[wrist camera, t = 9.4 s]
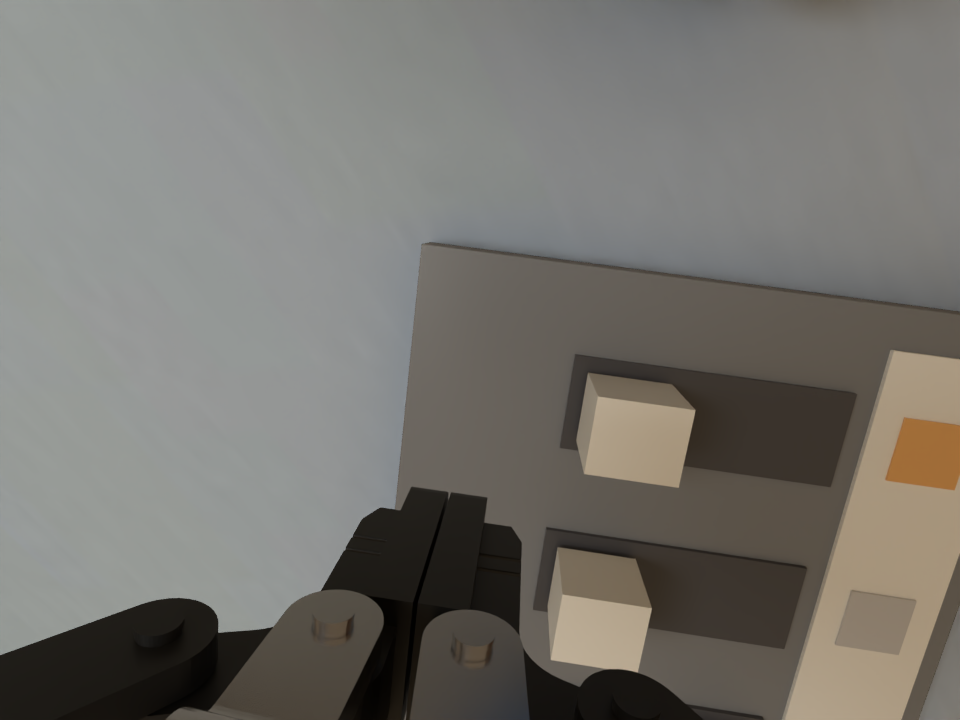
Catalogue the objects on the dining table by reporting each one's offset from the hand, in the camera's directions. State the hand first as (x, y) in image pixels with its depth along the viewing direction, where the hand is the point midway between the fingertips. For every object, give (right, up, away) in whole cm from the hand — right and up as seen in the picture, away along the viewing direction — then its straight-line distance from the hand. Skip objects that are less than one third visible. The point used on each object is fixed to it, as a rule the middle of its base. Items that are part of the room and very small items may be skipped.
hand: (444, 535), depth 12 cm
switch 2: (+5, -5, +12) cm, 14 cm away
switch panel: (+8, -5, +14) cm, 17 cm away
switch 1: (+6, +1, +10) cm, 12 cm away
